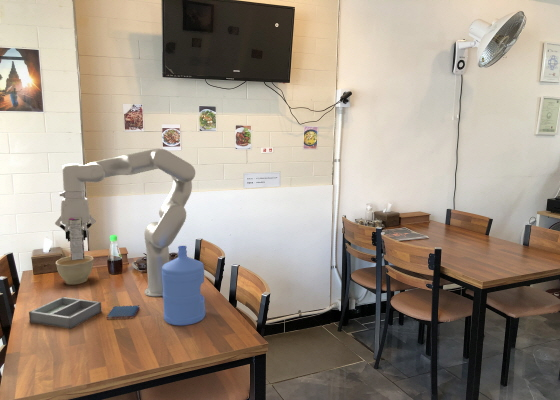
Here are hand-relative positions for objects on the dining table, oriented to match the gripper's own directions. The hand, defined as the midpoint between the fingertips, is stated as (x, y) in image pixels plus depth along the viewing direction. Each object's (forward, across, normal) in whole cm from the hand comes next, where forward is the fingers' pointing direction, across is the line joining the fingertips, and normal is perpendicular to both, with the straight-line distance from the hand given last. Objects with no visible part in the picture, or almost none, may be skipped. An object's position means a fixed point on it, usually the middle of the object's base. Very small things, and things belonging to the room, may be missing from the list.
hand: (76, 239), depth 171 cm
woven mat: (+28, +15, -16) cm, 36 cm away
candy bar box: (+7, 0, 0) cm, 7 cm away
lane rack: (+28, -5, -9) cm, 30 cm away
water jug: (+27, +36, -30) cm, 54 cm away
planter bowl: (+28, -1, +34) cm, 44 cm away
